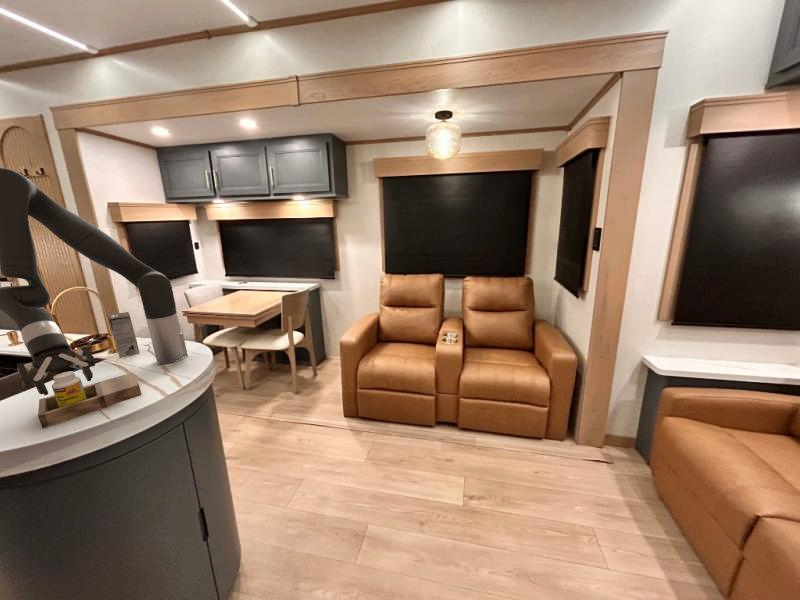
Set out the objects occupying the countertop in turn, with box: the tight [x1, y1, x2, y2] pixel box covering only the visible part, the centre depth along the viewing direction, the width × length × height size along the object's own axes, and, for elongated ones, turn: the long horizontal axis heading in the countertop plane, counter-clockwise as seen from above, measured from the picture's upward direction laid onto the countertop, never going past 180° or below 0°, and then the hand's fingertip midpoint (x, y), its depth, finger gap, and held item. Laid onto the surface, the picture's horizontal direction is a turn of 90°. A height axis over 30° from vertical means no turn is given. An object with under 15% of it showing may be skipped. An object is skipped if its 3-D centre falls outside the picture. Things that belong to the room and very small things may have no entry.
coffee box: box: [107, 311, 140, 359], centre depth 126 cm, size 9×6×16 cm
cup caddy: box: [37, 372, 143, 429], centre depth 91 cm, size 20×12×4 cm, turn 137°
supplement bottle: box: [51, 370, 87, 408], centre depth 88 cm, size 6×6×10 cm
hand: (68, 386), depth 87 cm, fingers open, 8 cm apart
